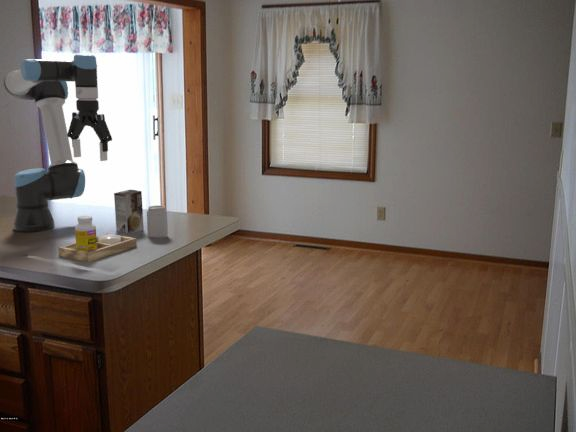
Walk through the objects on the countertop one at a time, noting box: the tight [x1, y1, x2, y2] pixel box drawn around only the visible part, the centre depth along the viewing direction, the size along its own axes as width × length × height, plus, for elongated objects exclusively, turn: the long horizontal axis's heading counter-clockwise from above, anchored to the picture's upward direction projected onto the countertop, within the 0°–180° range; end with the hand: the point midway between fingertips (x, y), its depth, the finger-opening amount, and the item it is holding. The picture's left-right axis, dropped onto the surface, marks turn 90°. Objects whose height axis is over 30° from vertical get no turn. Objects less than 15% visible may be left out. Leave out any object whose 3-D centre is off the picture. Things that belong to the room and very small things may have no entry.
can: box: [146, 205, 169, 238], centre depth 227 cm, size 8×8×12 cm
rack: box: [58, 233, 138, 263], centre depth 206 cm, size 14×22×4 cm, turn 151°
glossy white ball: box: [98, 234, 122, 245], centre depth 210 cm, size 8×8×4 cm
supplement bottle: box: [74, 215, 97, 252], centre depth 200 cm, size 7×7×13 cm
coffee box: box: [113, 189, 145, 234], centre depth 234 cm, size 9×6×16 cm
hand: (90, 158), depth 218 cm, fingers open, 13 cm apart
